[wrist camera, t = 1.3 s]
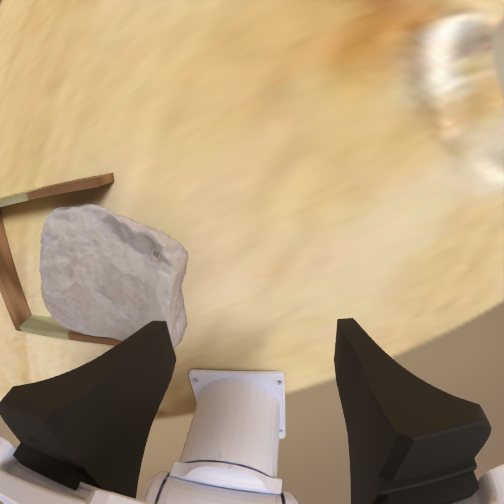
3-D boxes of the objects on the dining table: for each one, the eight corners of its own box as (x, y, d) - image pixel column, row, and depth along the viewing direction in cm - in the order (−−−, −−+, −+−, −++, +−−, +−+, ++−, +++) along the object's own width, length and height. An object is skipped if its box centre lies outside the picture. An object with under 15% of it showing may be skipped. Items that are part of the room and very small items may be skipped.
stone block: (70, 195, 23) (65, 307, 24) (35, 197, 18) (35, 326, 20) (204, 216, 23) (187, 339, 24) (189, 222, 18) (173, 369, 20)
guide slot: (147, 331, 24) (136, 347, 22) (28, 319, 26) (16, 330, 24) (113, 172, 20) (96, 177, 17) (-8, 200, 21) (-23, 206, 19)
